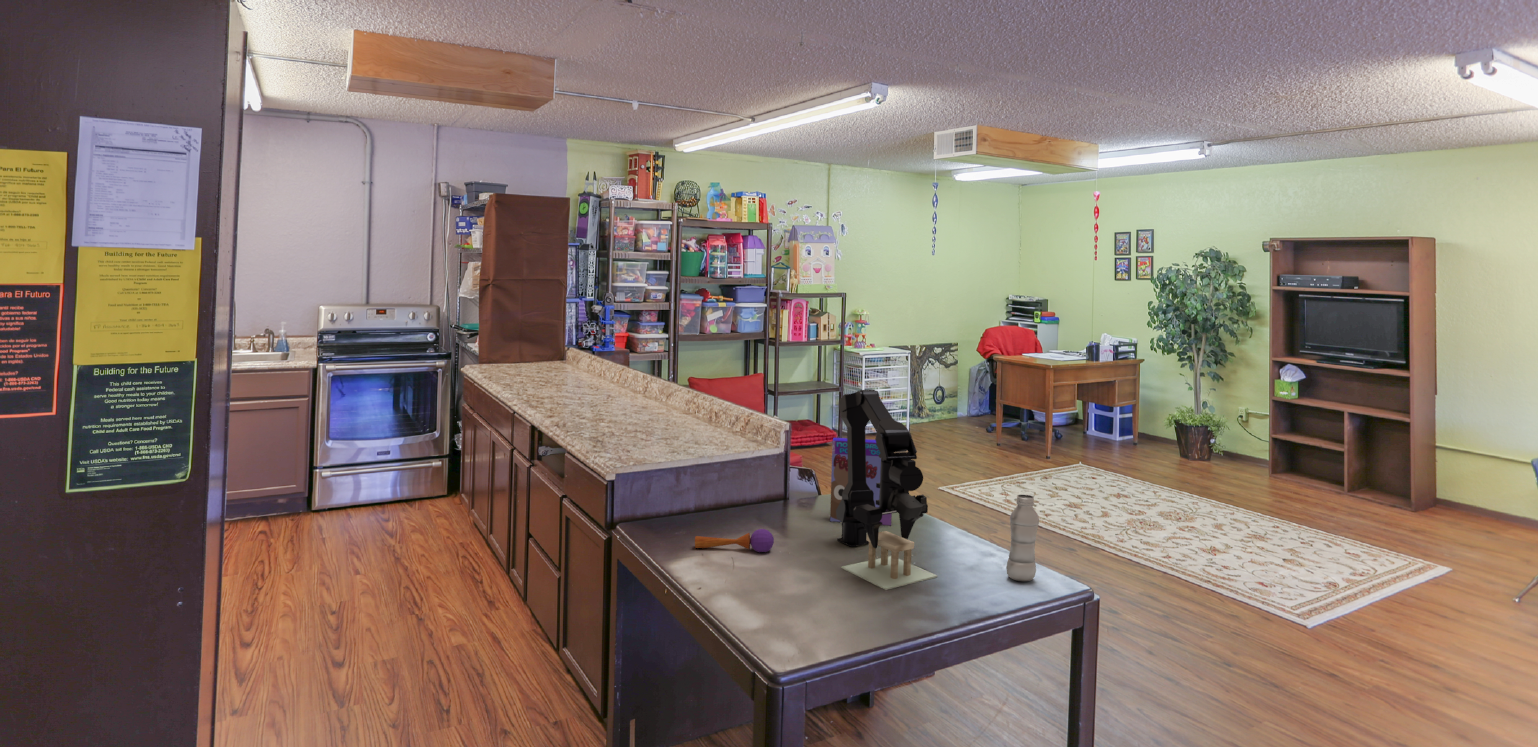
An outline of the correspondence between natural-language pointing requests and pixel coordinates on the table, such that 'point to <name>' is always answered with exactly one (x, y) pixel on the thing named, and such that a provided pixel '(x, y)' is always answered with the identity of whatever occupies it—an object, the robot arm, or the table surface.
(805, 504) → the table surface
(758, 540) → the kendama
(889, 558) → the mat
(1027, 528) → the plastic bottle
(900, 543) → the beige wooden bench
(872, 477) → the cereal box
